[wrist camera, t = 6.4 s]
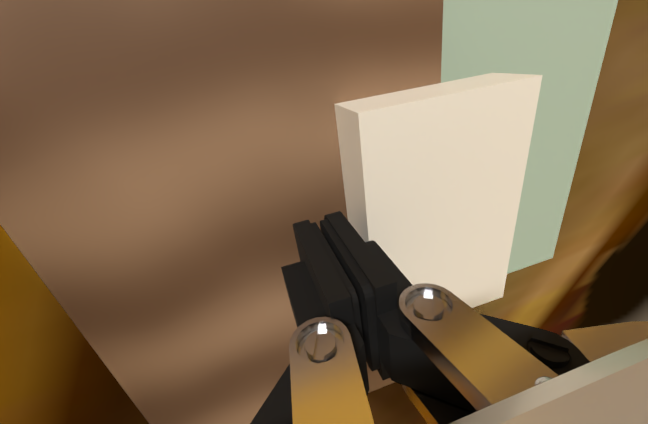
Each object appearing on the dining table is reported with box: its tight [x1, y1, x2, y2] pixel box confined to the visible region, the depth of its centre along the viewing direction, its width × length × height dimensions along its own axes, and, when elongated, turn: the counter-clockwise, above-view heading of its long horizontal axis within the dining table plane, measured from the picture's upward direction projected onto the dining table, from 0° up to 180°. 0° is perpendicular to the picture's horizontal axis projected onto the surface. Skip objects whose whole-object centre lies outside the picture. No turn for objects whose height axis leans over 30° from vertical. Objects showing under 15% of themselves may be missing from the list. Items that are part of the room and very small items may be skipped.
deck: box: [0, 0, 443, 424], centre depth 13 cm, size 22×14×4 cm, turn 9°
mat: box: [441, 0, 618, 274], centre depth 17 cm, size 20×12×1 cm, turn 9°
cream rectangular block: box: [334, 73, 543, 308], centre depth 12 cm, size 9×6×2 cm, turn 9°
